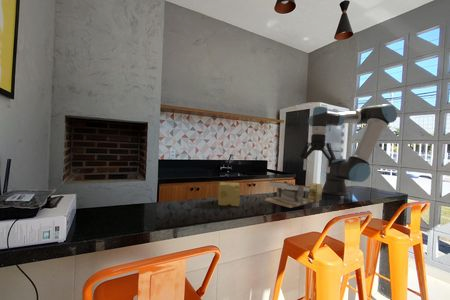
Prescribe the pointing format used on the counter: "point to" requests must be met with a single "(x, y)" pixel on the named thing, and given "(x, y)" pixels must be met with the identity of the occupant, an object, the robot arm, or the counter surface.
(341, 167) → the robot arm
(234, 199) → the cheese
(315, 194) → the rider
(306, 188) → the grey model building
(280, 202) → the stand
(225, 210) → the counter surface
